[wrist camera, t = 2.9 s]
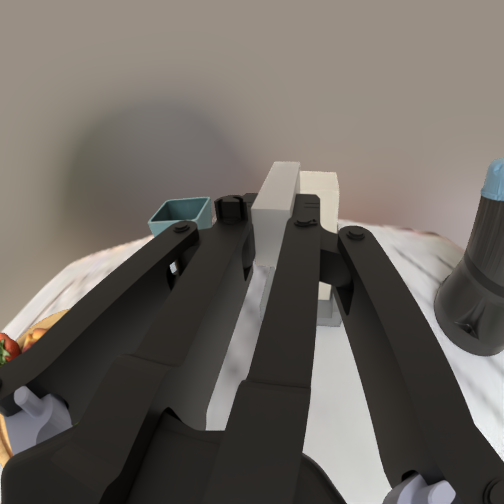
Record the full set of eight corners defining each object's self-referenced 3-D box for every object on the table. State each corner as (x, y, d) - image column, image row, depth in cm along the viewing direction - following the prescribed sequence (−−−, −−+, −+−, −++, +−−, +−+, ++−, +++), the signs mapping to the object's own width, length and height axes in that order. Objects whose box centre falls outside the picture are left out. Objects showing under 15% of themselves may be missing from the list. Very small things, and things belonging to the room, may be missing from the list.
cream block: (329, 271, 40) (336, 172, 31) (329, 300, 35) (339, 191, 26) (282, 268, 41) (278, 170, 33) (276, 296, 36) (270, 188, 28)
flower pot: (160, 266, 47) (146, 222, 42) (176, 240, 54) (166, 199, 49) (206, 267, 46) (196, 220, 41) (218, 239, 53) (211, 196, 48)
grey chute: (336, 230, 52) (337, 217, 51) (339, 326, 33) (342, 312, 32) (284, 227, 54) (284, 215, 53) (260, 320, 35) (259, 306, 34)
